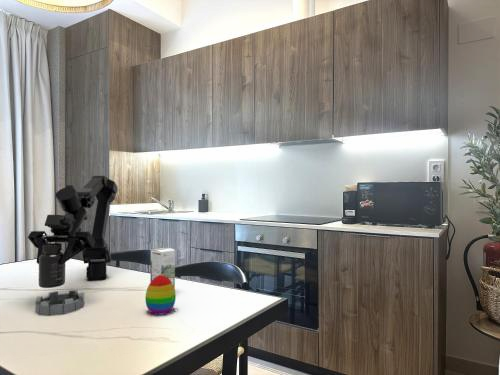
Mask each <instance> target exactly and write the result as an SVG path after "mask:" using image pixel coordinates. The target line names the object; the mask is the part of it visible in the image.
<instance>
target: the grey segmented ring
mask: <svg viewBox="0 0 500 375" xmlns="http://www.w3.org/2000/svg"><path fill="white" fill-rule="evenodd" d="M84 306H85V292H79V290H78V289H69V290H68V293H67V292H64V293H59V291H58V290H55V291H54V290H53V291H50V292H48V296H44V297H43V296H40V295H39V296H36V298H35V309H34V310H35V313H36V314H37V315H38V316H48V317H49V316H59V315H60V316H61V315H66V314H69V313H74V312H76V311H78V310H80V309H83V308H84Z"/></svg>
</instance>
